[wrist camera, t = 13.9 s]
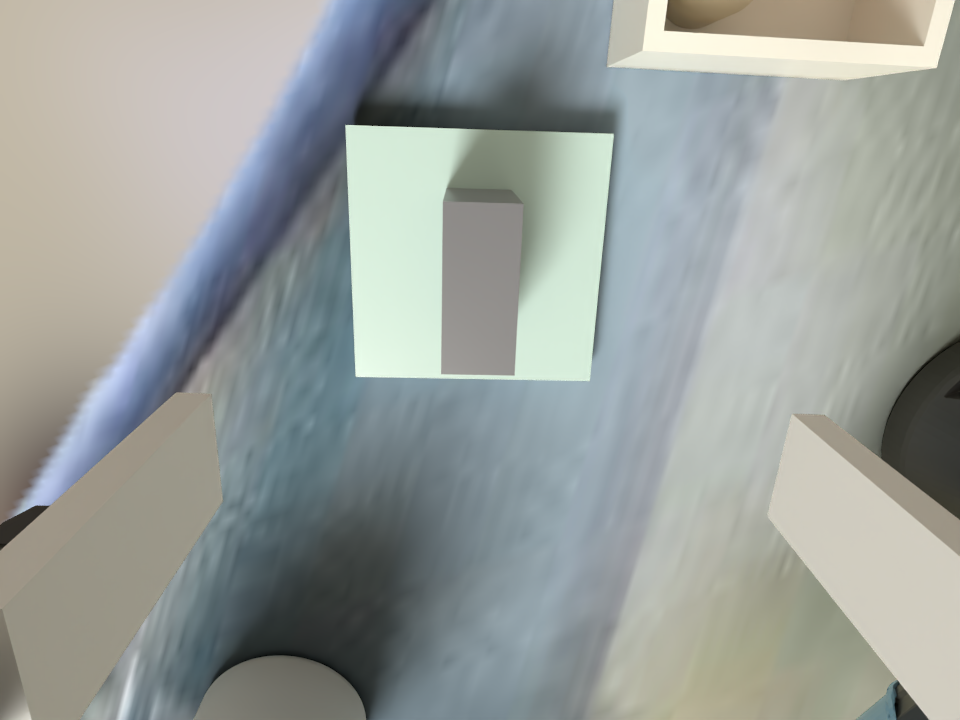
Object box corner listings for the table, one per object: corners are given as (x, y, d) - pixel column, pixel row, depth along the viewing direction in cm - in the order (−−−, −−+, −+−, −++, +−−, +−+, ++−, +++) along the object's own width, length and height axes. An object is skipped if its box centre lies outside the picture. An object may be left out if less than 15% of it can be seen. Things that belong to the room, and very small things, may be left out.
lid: (605, 133, 35) (652, 134, 26) (583, 369, 39) (616, 433, 31) (351, 125, 34) (315, 123, 26) (360, 364, 39) (332, 429, 30)
